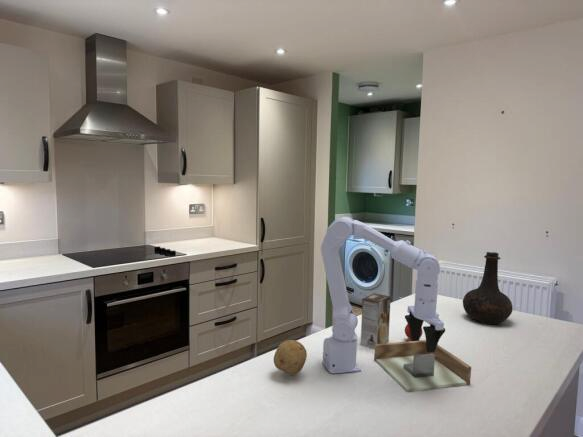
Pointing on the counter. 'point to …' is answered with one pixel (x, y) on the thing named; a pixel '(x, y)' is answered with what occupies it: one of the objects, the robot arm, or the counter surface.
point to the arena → (397, 354)
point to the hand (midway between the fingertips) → (422, 345)
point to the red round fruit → (409, 332)
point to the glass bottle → (488, 296)
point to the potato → (290, 357)
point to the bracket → (421, 365)
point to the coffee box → (375, 320)
